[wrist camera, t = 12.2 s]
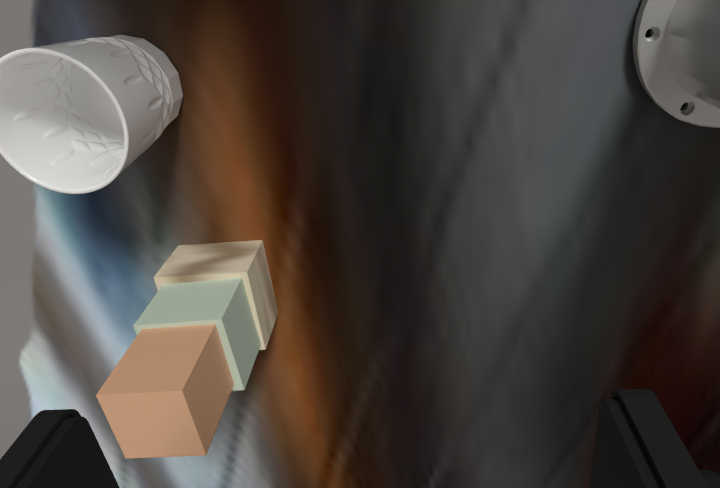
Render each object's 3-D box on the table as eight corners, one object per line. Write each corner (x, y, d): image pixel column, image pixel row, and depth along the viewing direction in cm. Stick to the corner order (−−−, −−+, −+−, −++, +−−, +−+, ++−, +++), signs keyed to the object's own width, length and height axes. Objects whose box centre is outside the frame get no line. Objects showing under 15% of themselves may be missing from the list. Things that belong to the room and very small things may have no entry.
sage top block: (242, 277, 39) (221, 318, 34) (261, 344, 41) (244, 390, 37) (163, 284, 39) (133, 326, 35) (187, 349, 42) (162, 395, 38)
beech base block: (262, 239, 43) (247, 271, 38) (278, 312, 46) (265, 349, 42) (178, 244, 44) (153, 277, 39) (199, 316, 47) (178, 353, 42)
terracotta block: (215, 324, 35) (182, 390, 29) (234, 383, 37) (206, 455, 32) (141, 329, 35) (95, 395, 30) (164, 387, 37) (125, 458, 32)
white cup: (177, 157, 40) (114, 214, 31) (72, 115, 39) (-25, 162, 30) (204, 54, 36) (140, 86, 28) (88, 5, 35) (-16, 21, 27)
